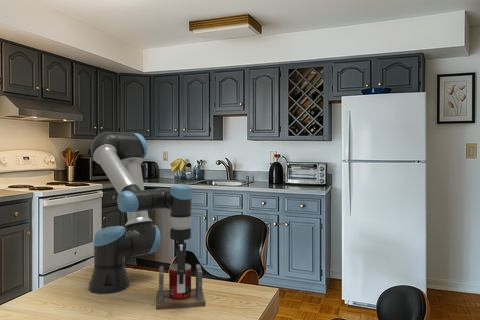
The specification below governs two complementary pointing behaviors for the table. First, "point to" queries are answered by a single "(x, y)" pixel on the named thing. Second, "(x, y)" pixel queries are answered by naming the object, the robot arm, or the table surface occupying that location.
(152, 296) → the table surface
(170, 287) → the canned food
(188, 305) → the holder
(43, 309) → the table surface
